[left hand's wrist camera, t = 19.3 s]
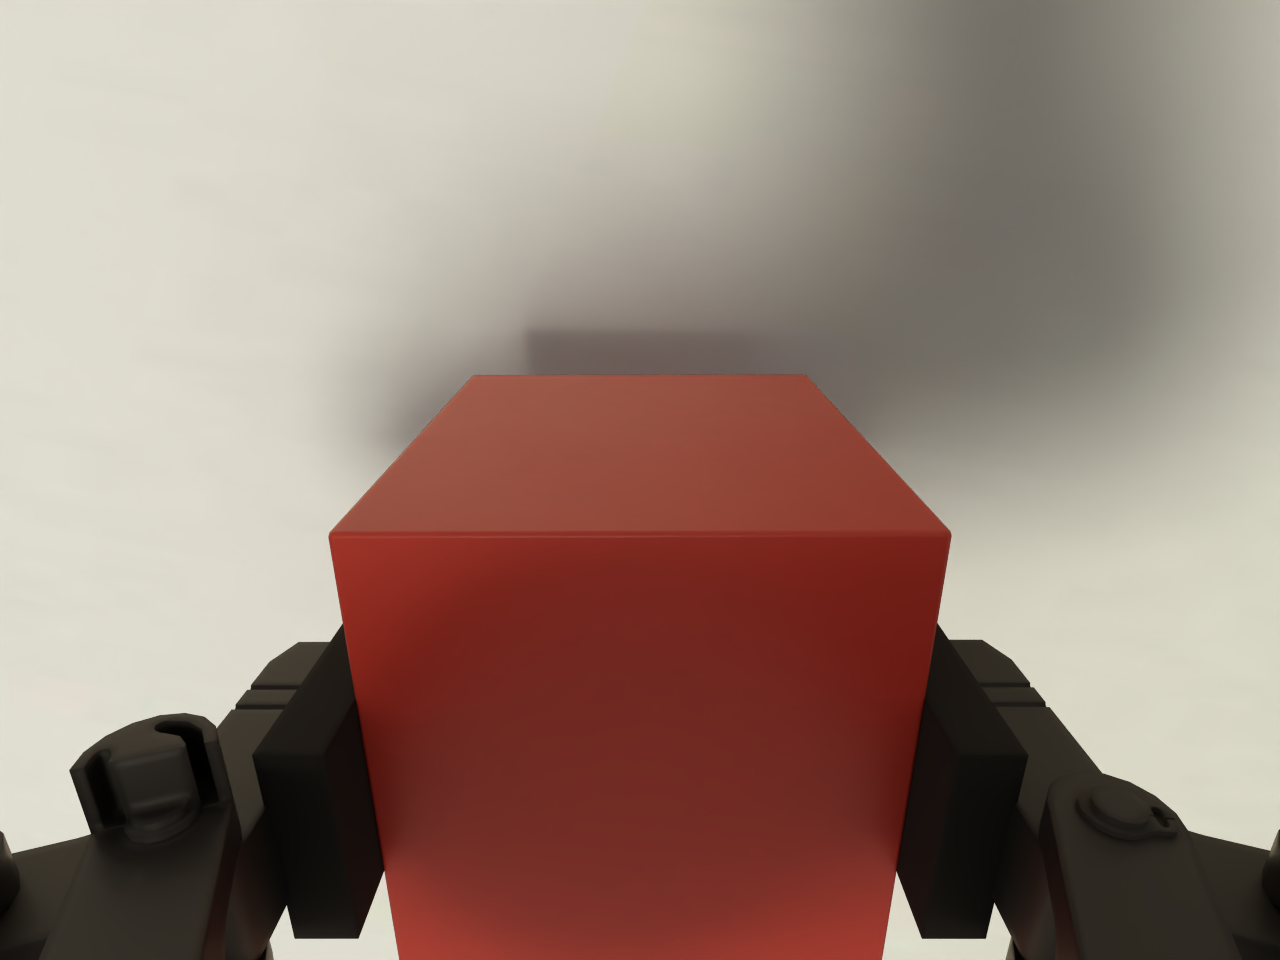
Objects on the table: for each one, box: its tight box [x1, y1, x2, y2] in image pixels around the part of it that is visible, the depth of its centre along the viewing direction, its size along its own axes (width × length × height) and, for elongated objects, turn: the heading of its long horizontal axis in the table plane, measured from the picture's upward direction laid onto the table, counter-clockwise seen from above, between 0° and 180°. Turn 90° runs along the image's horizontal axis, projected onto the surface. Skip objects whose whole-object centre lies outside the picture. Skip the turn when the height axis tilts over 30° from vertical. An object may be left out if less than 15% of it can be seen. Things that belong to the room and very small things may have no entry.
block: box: [329, 375, 951, 960], centre depth 13 cm, size 7×7×7 cm
